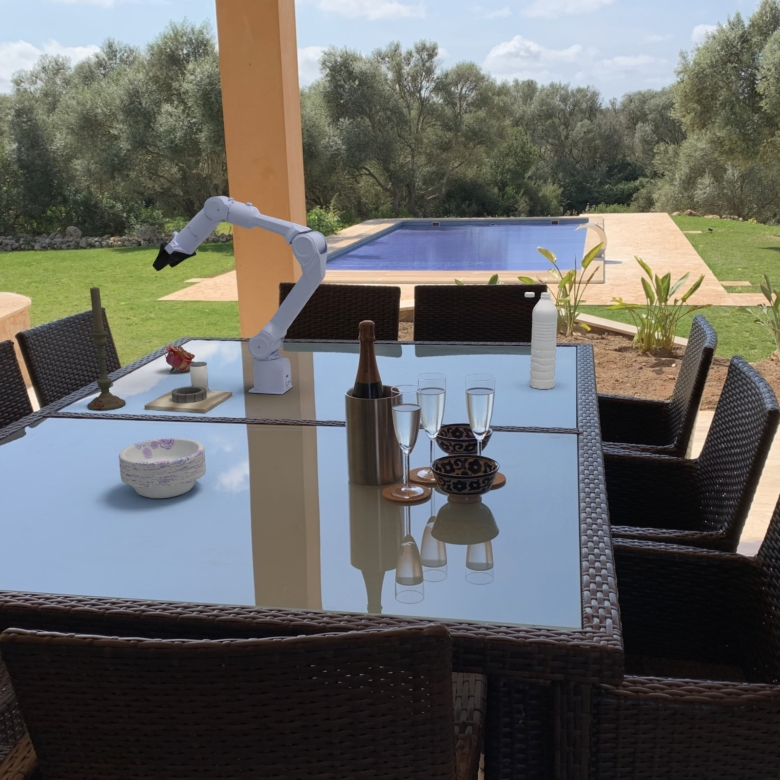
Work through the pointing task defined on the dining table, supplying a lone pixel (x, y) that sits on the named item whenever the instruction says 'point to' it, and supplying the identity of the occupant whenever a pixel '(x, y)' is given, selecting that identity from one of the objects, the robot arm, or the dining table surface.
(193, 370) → the grey capped cylinder
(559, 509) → the dining table surface
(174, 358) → the flower
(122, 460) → the paper bowls
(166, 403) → the tan square tray
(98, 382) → the candlestick holder
